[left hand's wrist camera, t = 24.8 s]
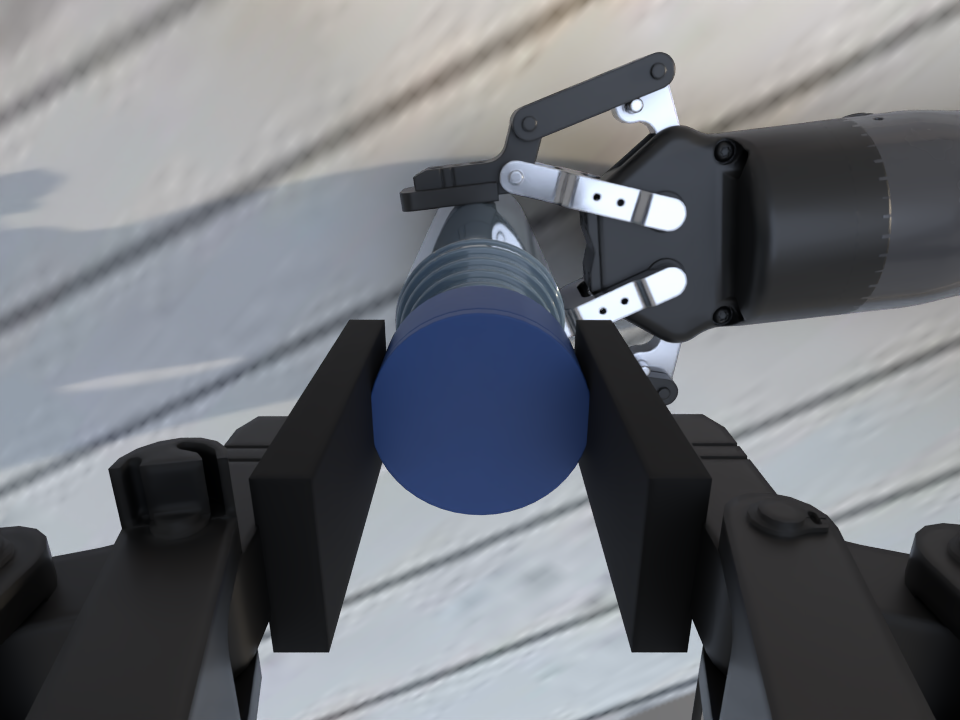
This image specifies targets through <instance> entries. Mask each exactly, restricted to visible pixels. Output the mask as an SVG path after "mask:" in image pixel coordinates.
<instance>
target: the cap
mask: <svg viewBox="0 0 960 720" xmlns="http://www.w3.org/2000/svg"><path fill="white" fill-rule="evenodd" d="M589 398H590V392H589V389H588V386H587V383H586V379H585V377H584V374H583V372H582V369H581V367H580V364H579V362H578V359H577V357H576V354H575V352H574V349H573V347H572V344H571V342H570V340H569V338H568V336H567V334H566V332H565V331H564V329H563V328H562V326H561V325H560V323H559V322H558V321H557V320H556V319H555V318H554V316H553V315H552V314H551V313H550V312H549V311H547V310H546V309H545V308H544V307H543V306H541V305H540V304H538V303H537V302H535V301H534V300H532V299H531V298H529V297H527V296H524V295H522V294H520V293H518V292H515V291H512V290H509V289H505V288H500V287H494V286H480V285H478V286H466V287H461V288H456V289H452V290H449V291H446V292H443V293H440V294H438V295H436V296H434V297H432V298H430V299H428V300H427V301H425V302H424V303H422V304H421V305H419V306H418V307H417V308H416V309H414V310H413V311H412V312H411V313H410V314H409V315H408V316H407V317H406V318H405V319H404V321H403V322H402V323H401V324H400V326H399V327H398V329H397V330H396V332H395V334H394V335H393V337H392V339H391V342H390V344H389V346H388V349H387V351H386V354H385V356H384V359H383V361H382V364H381V366H380V369H379V371H378V374H377V376H376V379H375V381H374V385H373V388H372V392H371V402H372V418H373V433H374V445H375V448H376V450H377V453H378V455H379V457H380V459H381V461H382V462H383V464H384V465H385V467H386V468H387V470H388V471H389V472H390V474H391V475H392V476H393V477H394V478H395V479H396V481H397V482H399V483H400V484H401V485H402V486H403V487H404V488H405V489H406V490H408V491H409V492H410V493H412V494H413V495H415V496H416V497H418V498H419V499H421V500H423V501H425V502H427V503H429V504H431V505H433V506H436V507H438V508H441V509H444V510H448V511H452V512H456V513H462V514H469V515H490V514H499V513H504V512H510V511H513V510H516V509H519V508H523V507H525V506H527V505H530V504H532V503H534V502H536V501H538V500H539V499H541V498H543V497H545V496H546V495H548V494H549V493H550V492H552V491H553V490H554V489H556V488H557V487H558V486H559V485H560V484H561V483H562V482H563V481H564V480H565V479H566V478H567V477H568V476H569V474H570V473H571V472H572V471H573V469H574V468H575V467H576V465H577V463H578V462H579V460H580V458H581V457H582V454H583V452H584V450H585V447H586V444H587V430H588V414H589Z"/></svg>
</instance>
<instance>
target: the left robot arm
mask: <svg viewBox="0 0 960 720" xmlns="http://www.w3.org/2000/svg"><path fill="white" fill-rule="evenodd" d="M385 354H386V338H385V320H349V321H348V323H347V325H346V326H345V328H344V329H343V331H342V332H341V334H340V336H339V337H338V339H337V340H336V342H335V343H334V345H333V347H332V348H331V350H330V351H329V353H328V354H327V356H326V358H325V359H324V361H323V362H322V364H321V365H320V367H319V369H318V370H317V372H316V373H315V375H314V376H313V378H312V380H311V381H310V383H309V384H308V386H307V387H306V389H305V391H304V392H303V394H302V395H301V397H300V398H299V400H298V402H297V403H296V405H295V406H294V408H293V409H292V411H291V413H290V414H289V416H258V417H257V418H255V419H253V420H252V421H250V422H248V423H247V424H245V425H243V426H242V427H240V428H238V429H237V430H236V431H235V432H234V433H233V435H232V436H231V437H230V439H229V440H228V441H227V442H226V444H225V445H224V446H223V445H222V444H220V443H219V442H217V441H214V440H209V439H205V438H177V439H171V440H165V441H159V442H156V443H153V444H150V445H147V446H144V447H141V448H138V449H136V450H134V451H132V452H130V453H128V454H126V455H124V456H123V457H121V458H119V459H118V460H117V461H116V462H115V463H114V464H113V465H112V466H111V467H110V468H109V469H108V470H109V474H110V479H111V483H112V487H113V492H114V496H115V500H116V505H117V509H118V513H119V518H120V522H121V526H122V530H121V532H120V534H119V536H118V538H117V540H116V542H115V544H114V545H110V546H106V547H102V548H97V549H92V550H86V551H81V552H76V553H70V554H65V555H60V556H55V557H52V555H51V552H50V548H49V545H48V541H47V538H46V536H45V535H44V534H42V533H41V532H40V531H39V530H37V529H34V528H28V527H22V526H14V527H3V528H0V720H256V719H257V711H258V703H259V695H260V687H261V679H262V675H261V668H260V661H259V655H258V646H259V644H260V642H261V639H262V637H263V634H264V632H265V630H266V627H267V625H268V622H269V624H270V631H271V638H272V645H273V652H329V651H330V647H331V644H332V640H333V636H334V633H335V629H336V626H337V622H338V619H339V615H340V611H341V608H342V604H343V601H344V597H345V594H346V590H347V586H348V583H349V579H350V576H351V572H352V569H353V565H354V562H355V558H356V554H357V551H358V547H359V544H360V540H361V537H362V533H363V529H364V526H365V522H366V519H367V515H368V512H369V508H370V504H371V501H372V497H373V494H374V490H375V487H376V483H377V479H378V476H379V472H380V469H381V465H382V461H381V459H380V457H379V455H378V453H377V450H376V448H375V445H374V433H373V418H372V402H371V392H372V388H373V385H374V381H375V379H376V376H377V374H378V371H379V369H380V366H381V364H382V361H383V359H384V356H385ZM575 354H576V357H577V359H578V362H579V364H580V367H581V369H582V372H583V374H584V377H585V379H586V383H587V386H588V389H589V392H590V398H589V414H588V430H587V444H586V447H585V450H584V452H583V454H582V457H581V458H580V460H579V462H578V463H579V466H580V470H581V473H582V477H583V480H584V484H585V488H586V491H587V495H588V498H589V502H590V505H591V509H592V513H593V516H594V520H595V523H596V527H597V530H598V534H599V537H600V541H601V545H602V548H603V552H604V555H605V559H606V562H607V566H608V570H609V573H610V577H611V580H612V584H613V587H614V591H615V594H616V598H617V602H618V605H619V609H620V612H621V616H622V619H623V623H624V627H625V630H626V634H627V637H628V641H629V644H630V648H631V651H632V652H687V650H688V643H689V636H690V630H691V623H692V620H693V622H694V624H695V627H696V629H697V632H698V634H699V636H700V639H701V641H702V644H703V648H702V655H701V661H700V668H699V674H698V681H697V687H696V694H695V700H694V707H693V713H692V720H701V715H702V710H703V718H704V720H960V525H958V524H947V523H941V524H934V525H928V526H925V527H923V528H922V529H921V530H919V531H918V532H917V533H916V534H915V538H914V541H913V545H912V548H911V552H910V554H906V553H901V552H895V551H890V550H885V549H879V548H874V547H869V546H864V545H859V544H855V543H851V542H847V541H844V539H843V537H842V535H841V533H840V531H839V529H838V527H837V526H836V525H835V524H834V523H833V521H832V520H831V519H830V518H829V517H828V516H827V515H826V514H824V513H823V512H821V511H819V510H818V509H816V508H815V507H813V506H812V505H810V504H807V503H804V502H802V501H799V500H797V499H794V498H791V497H787V496H782V495H777V494H776V492H775V491H774V490H773V489H772V487H771V486H770V485H769V483H768V482H767V481H766V480H765V478H764V477H763V476H762V474H761V473H760V472H759V471H758V469H757V468H756V467H755V466H754V464H753V463H752V462H751V460H750V459H747V455H746V454H745V453H744V451H743V450H742V449H741V448H740V446H737V442H736V441H735V440H734V439H733V437H732V436H731V435H730V434H729V432H728V431H727V430H726V428H725V427H723V426H721V425H720V424H718V423H716V422H715V421H713V420H711V419H710V418H708V417H706V416H705V415H703V414H671V413H670V411H669V410H668V408H667V407H666V405H665V403H664V402H663V400H662V399H661V397H660V396H659V394H658V392H657V391H656V389H655V388H654V386H653V385H652V383H651V381H650V380H649V378H648V377H647V375H646V374H645V372H644V370H643V369H642V367H641V366H640V364H639V363H638V361H637V359H636V358H635V356H634V355H633V353H632V352H631V350H630V348H629V347H628V345H627V344H626V342H625V341H624V339H623V337H622V336H621V334H620V333H619V331H618V330H617V328H616V326H615V325H614V323H613V322H612V320H576V334H575Z"/></svg>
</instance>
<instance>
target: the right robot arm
mask: <svg viewBox="0 0 960 720" xmlns="http://www.w3.org/2000/svg"><path fill="white" fill-rule="evenodd" d="M674 75H675V64H674V61H673V59H672V58H671V57H670V56H669V55H668V54H666V53H662V52H657V53H653V54H650V55H648V56H645V57H642V58H639V59H637V60H634V61H632V62H629V63H627V64H624V65H622V66H620V67H617V68H615V69H612V70H610V71H607V72H605V73H603V74H600V75H598V76H595V77H593V78H591V79H588V80H586V81H583V82H581V83H578V84H576V85H574V86H571V87H569V88H566V89H564V90H561V91H559V92H557V93H554V94H552V95H549V96H547V97H545V98H542V99H540V100H537V101H535V102H532V103H530V104H528V105H525V106H523V107H520V108H518V109H517V110H515V111H514V112H513V114H512V115H511V118H510V124H509V129H508V133H507V137H506V141H505V145H504V148H503V150H502V151H501V153H500V154H499V155H498V156H497V157H495V158H493V159H491V160H486V161H478V162H470V163H461V164H454V165H445V166H437V167H429V168H427V169H425V170H423V171H422V172H420V173H418V174H416V175H415V176H414V177H413V179H414V186H415V187H410V188H405V189H403V190H402V191H401V192H400V197H401V204H402V210H403V211H404V212H410V211H419V210H428V209H436V208H444V207H453V206H461V205H468V204H474V203H486V202H495V201H499V195H501V194H509V193H511V194H515V195H519V196H524V197H528V198H532V199H537V200H541V201H545V202H550V203H554V204H557V205H560V206H563V207H566V208H570V209H574V210H579V211H580V225H581V228H582V231H583V234H584V237H585V239H586V249H585V254H584V259H583V273H584V277H583V278H581V279H579V280H577V281H574V282H572V283H570V284H568V285H566V286H564V287H563V288H561V289H560V290H559V291H560V293H561V296H562V300H563V304H564V311H565V332H566V334H567V336H568V338H570V337H572V336H575V334H576V320H612V322H616V321H618V320H620V319H622V318H624V319H625V320H627V321H629V322H631V323H633V324H634V325H636V326H638V327H640V328H641V329H643V330H645V331H647V332H649V333H650V334H652V335H654V336H653V338H652V339H651V340H650V341H649V342H647V343H645V344H642V345H633V346H630V347H629V348H630V350H631V352H632V353H633V355H634V356H635V358H636V359H637V361H638V363H639V364H640V366H641V367H642V369H643V370H644V372H645V374H646V375H647V377H648V378H649V380H650V381H651V383H652V385H653V386H654V388H655V389H656V391H657V392H658V394H659V396H660V397H661V399H662V400H663V402H664V403H665V405H669V404H671V403H672V402H673V401H674V400H675V399H676V397H677V395H678V388H677V386H676V384H675V383H674V381H673V373H674V369H675V366H676V362H677V358H678V354H679V350H680V346H681V343H682V342H686V341H688V340H690V339H692V338H694V337H695V336H697V335H698V334H700V333H702V332H704V331H706V330H708V329H711V328H714V327H722V326H740V325H750V324H759V323H768V322H777V321H786V320H795V319H804V318H813V317H821V316H830V315H840V314H849V313H858V312H867V311H876V310H885V309H894V308H902V307H909V306H915V305H920V304H924V303H929V302H933V301H937V300H941V299H945V298H949V297H953V296H958V295H960V110H956V111H941V110H907V111H896V112H888V113H880V114H872V113H857V114H852V115H848V116H845V117H843V118H840V119H831V120H823V121H814V122H807V123H799V124H791V125H782V126H774V127H766V128H758V129H749V130H741V131H733V132H725V133H716V134H705V133H701V132H699V131H696V130H694V129H692V128H690V127H687V126H682V125H680V124H679V120H678V116H677V112H676V108H675V105H674V101H673V97H672V93H671V89H670V85H669V84H670V83H671V81H672V80H673V78H674ZM609 110H611V112H612V114H613V116H614V118H615V119H616V120H618V121H619V122H622V123H636V122H641V123H643V124H644V125H646V126H647V128H648V129H649V131H650V134H649V135H647V136H646V137H645V138H644V139H643V140H642V141H641V142H640V143H639V144H637V145H636V146H635V147H634V148H633V149H632V150H631V151H630V152H629V153H627V154H626V155H625V156H624V157H623V158H622V159H621V160H620V161H619V162H617V163H616V164H615V165H614V166H613V167H612V168H611V169H610V170H609V171H607V172H606V173H605V174H604V175H603V176H598V175H594V174H590V173H586V172H581V171H577V170H573V169H569V168H564V167H558V166H553V165H549V164H545V163H541V162H536V158H537V154H538V150H539V146H540V142H541V138H542V137H544V136H547V135H549V134H552V133H554V132H557V131H559V130H562V129H564V128H567V127H569V126H572V125H574V124H577V123H579V122H582V121H584V120H586V119H589V118H591V117H594V116H596V115H599V114H601V113H604V112H606V111H609ZM589 290H590V292H588V291H589ZM602 308H604V309H603V310H602V311H600V309H602ZM574 352H575V349H574Z"/></svg>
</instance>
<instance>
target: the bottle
mask: <svg viewBox="0 0 960 720" xmlns="http://www.w3.org/2000/svg"><path fill="white" fill-rule="evenodd" d="M478 285H480V286H494V287H500V288H505V289H509V290H512V291H515V292H518V293H520V294H522V295H524V296H527V297H529V298H531V299H532V300H534V301H535V302H537V303H538V304H540V305H541V306H543V307H544V308H545V309H546V310H547V311H549V312H550V313H551V314H552V315H553V316H554V318H555V319H556V320H557V321H558V322H559V323H560V325H561V326H562V328H563V329H564V331H565V311H564V304H563V300H562V296H561V293H560V291H559V288H558V286H557V284H556V282H555V279H554V277H553V275H552V273H551V270H550V268H549V266H548V264H547V262H546V259H545V257H544V255H543V253H542V251H541V248H540V246H539V244H538V242H537V239H536V237H535V235H534V233H533V231H532V228H531V226H530V224H529V222H528V220H527V217H526V215H525V213H524V211H523V209H522V207H521V205H520V204H519V202H518V201H517V200H516V199H515V198H514V197H513V196H512V195H511V194H510V193H509V194H501V195H499V201H495V202H486V203H474V204H468V205H461V206H453V207H444V208H438V210H437V212H436V214H435V216H434V219H433V221H432V223H431V225H430V228H429V230H428V232H427V234H426V236H425V239H424V241H423V243H422V245H421V247H420V250H419V252H418V254H417V256H416V259H415V261H414V263H413V265H412V267H411V270H410V272H409V274H408V276H407V278H406V281H405V283H404V285H403V287H402V290H401V293H400V295H399V298H398V303H397V308H396V319H395V321H396V330H397V329H398V327H399V326H400V324H401V323H402V322H403V321H404V319H405V318H406V317H407V316H408V315H409V314H410V313H411V312H412V311H413V310H414V309H416V308H417V307H418V306H419V305H421V304H422V303H424V302H425V301H427V300H428V299H430V298H432V297H434V296H436V295H438V294H440V293H443V292H446V291H449V290H452V289H456V288H461V287H466V286H478Z"/></svg>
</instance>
